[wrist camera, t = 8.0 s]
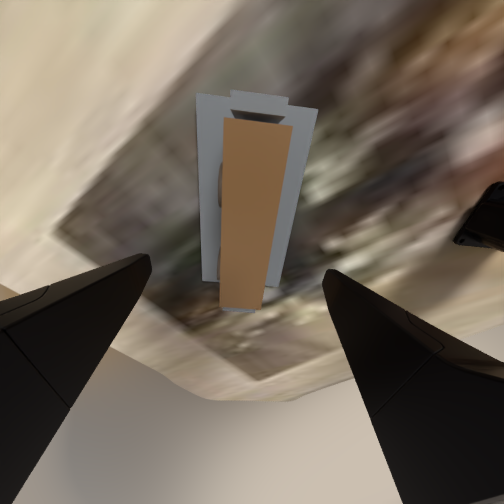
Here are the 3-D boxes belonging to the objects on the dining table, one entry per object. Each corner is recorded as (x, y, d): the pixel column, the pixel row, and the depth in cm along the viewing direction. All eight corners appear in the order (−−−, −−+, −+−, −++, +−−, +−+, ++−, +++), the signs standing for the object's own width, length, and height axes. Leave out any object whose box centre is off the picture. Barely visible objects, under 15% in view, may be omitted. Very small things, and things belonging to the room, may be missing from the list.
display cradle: (313, 112, 15) (348, 90, 9) (277, 280, 23) (284, 319, 17) (199, 97, 14) (169, 64, 9) (204, 274, 22) (190, 312, 17)
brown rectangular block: (226, 124, 12) (218, 116, 9) (283, 131, 12) (293, 125, 9) (221, 283, 18) (216, 306, 15) (259, 286, 18) (260, 309, 15)
